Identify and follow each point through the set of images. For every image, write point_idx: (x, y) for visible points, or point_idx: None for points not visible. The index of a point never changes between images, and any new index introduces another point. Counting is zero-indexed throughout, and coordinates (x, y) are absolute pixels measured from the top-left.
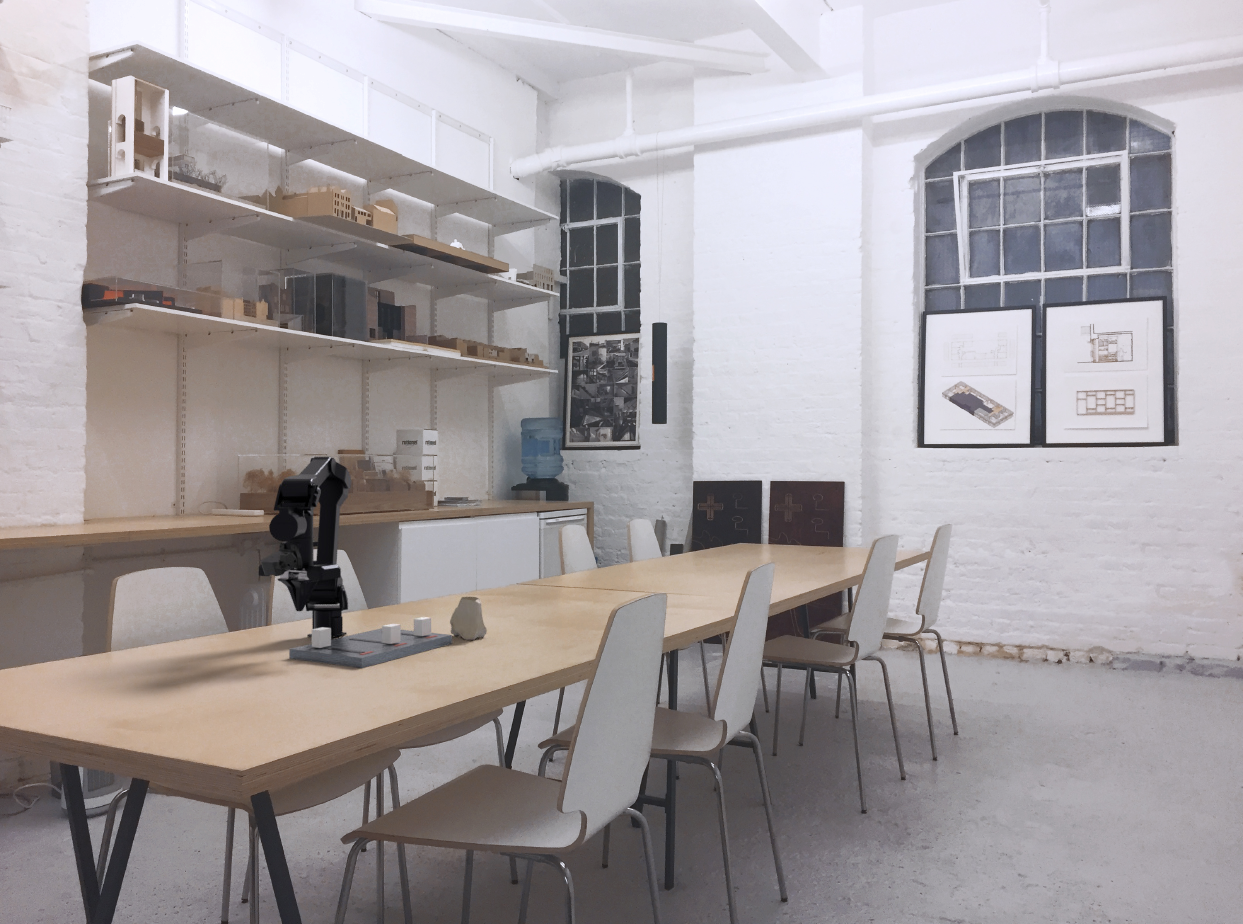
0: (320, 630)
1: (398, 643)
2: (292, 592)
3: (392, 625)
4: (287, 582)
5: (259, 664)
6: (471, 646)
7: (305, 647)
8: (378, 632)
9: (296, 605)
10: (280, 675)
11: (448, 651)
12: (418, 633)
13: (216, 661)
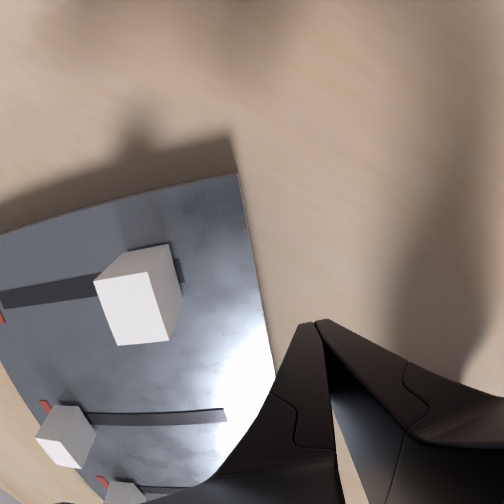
0: (94, 283)
1: None
2: (391, 390)
3: (54, 452)
4: (487, 438)
5: (230, 44)
6: (68, 479)
7: (207, 235)
8: None
9: (324, 336)
10: (35, 36)
11: None
12: (118, 485)
13: (398, 6)
